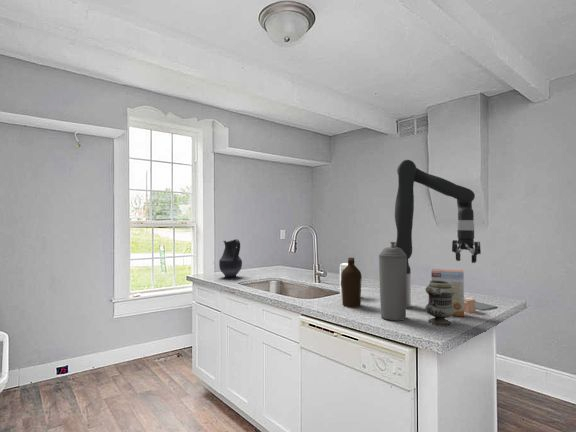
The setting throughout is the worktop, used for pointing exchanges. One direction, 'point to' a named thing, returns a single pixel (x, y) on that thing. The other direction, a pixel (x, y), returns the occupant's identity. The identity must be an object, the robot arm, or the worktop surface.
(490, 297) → the worktop surface
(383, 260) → the canister
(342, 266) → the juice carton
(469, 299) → the lettered block
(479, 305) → the charcoal mat
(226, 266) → the pitcher
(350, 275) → the olive oil
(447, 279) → the cracker box
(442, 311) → the apothecary jar
